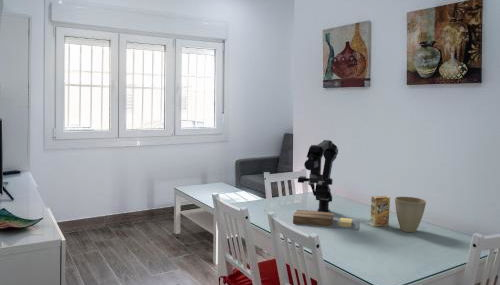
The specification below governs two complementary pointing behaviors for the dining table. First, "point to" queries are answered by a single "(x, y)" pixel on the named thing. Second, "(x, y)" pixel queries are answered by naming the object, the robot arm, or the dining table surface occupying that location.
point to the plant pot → (409, 212)
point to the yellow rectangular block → (345, 222)
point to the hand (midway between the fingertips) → (314, 195)
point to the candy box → (380, 211)
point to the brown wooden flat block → (313, 218)
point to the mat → (353, 226)
